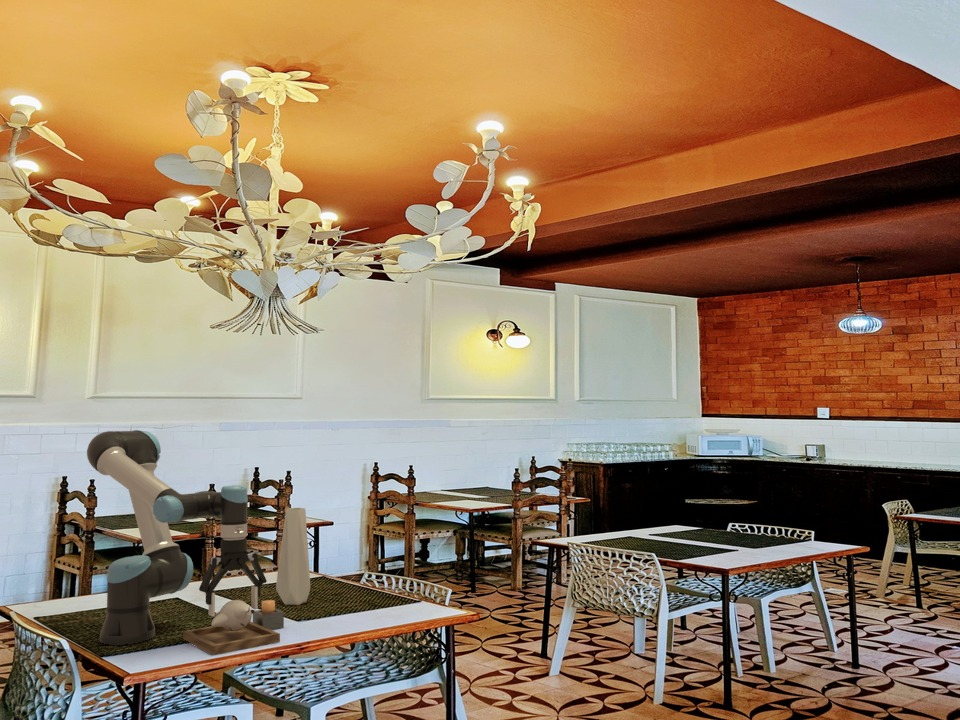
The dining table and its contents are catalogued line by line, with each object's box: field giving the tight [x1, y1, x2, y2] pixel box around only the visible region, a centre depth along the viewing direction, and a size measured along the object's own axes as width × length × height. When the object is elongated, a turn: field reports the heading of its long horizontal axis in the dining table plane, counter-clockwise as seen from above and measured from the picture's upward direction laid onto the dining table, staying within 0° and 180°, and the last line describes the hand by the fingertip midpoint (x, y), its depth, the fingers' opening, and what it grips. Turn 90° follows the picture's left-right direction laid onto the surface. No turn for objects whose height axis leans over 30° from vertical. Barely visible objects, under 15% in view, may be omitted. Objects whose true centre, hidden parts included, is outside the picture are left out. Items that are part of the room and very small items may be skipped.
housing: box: [252, 607, 285, 631], centre depth 255 cm, size 7×7×5 cm
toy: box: [210, 599, 256, 631], centre depth 242 cm, size 13×9×15 cm
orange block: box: [261, 599, 276, 614], centre depth 255 cm, size 4×4×5 cm
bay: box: [182, 621, 281, 656], centre depth 240 cm, size 20×22×2 cm
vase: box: [275, 507, 311, 606], centre depth 291 cm, size 12×12×33 cm
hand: (233, 612), depth 242 cm, fingers closed on toy, 12 cm apart
